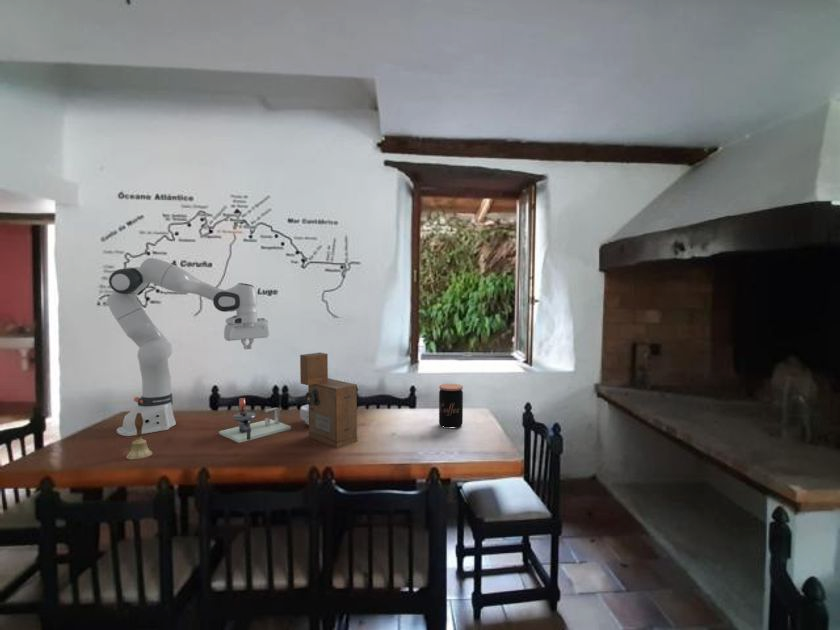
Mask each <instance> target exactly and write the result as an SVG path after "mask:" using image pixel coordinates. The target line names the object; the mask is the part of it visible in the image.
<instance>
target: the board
mask: <svg viewBox="0 0 840 630" xmlns="http://www.w3.org/2000/svg"><path fill="white" fill-rule="evenodd" d="M247 412H248V411H247V410H245V411H243V412H242V415H246V414H247ZM269 419H270V426H265V419H264V420H261V421H257V422H253V423H251V422H250V428H251V432H250V434H251V439H250V440H247V432H239V426H235V427H232V428H227V429H224V430H219V431H218V434H219V435H220V436H222V437H225V438H228V439H230V440H232V441H233V442H236V443H238V444H240V443H244V442H247V441H253V440H255V439H259V438H264V437H266V436H270V435H275V434H278V433H282V432H285V431H286V432H287V431H289V430H292V426H291V425H288V424H286V423H284V422H280V424H276V423H275V419H271V418H269Z"/></svg>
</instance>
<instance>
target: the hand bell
mask: <svg viewBox="0 0 840 630" xmlns="http://www.w3.org/2000/svg"><path fill="white" fill-rule="evenodd" d="M135 426H136V429H137V435H135V436H136V438H135V440H133V441H132V443H131V447H130V451H129V452H128V453H127V454H126V459H127V460H132V461H133V460H134V461H135V460H141V459H142V460H143V459H145V458H149V457H151V456H152V455H153V451H152V450H150V449H149V447H148V445H147V440H146V439H143V438H142V437H143V434H142V426H143V418H142V415H141V413H137V415H136V418H135Z"/></svg>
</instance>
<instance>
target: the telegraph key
mask: <svg viewBox="0 0 840 630" xmlns="http://www.w3.org/2000/svg"><path fill="white" fill-rule="evenodd" d="M238 404H239V405H238V406H239V412H238V413H236V414H233V416H232V420H233V421H235V422H238V427H239V432H247V440H248V441H251V440H250V439H251V434H250V432H251V428H250V424H251V420H254V419H256V418H257V415H256V413H255V412H250V411H249V412H248V411H247V414H246V415H242V412H243V411H246V398H245V397H242V398H241V397H240V398H239V403H238Z"/></svg>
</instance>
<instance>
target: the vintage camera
mask: <svg viewBox="0 0 840 630" xmlns="http://www.w3.org/2000/svg"><path fill="white" fill-rule="evenodd" d="M299 358H300V360H299V362H300V363H299V364H300V365H299V366H300V368H299V369H300V374H299V375H300V384H302V385H305V386H308V391H307V392H306V393H305V398H304V399H305V402H306V405H309V425H308V438H311V439H313V440H315V441H318V442H321V443H323V442H324V443H323V444H327V445H329V446H332V447H335V448H336V447H337V449H338V448H341V447H344V446H347V445H350V444H353V443H356V441H357V442H358V424H357V423H358V422H357V421H358V418H357V417H358V414H357V413H358V407H357V405H358V404H357V401H358V400H357V398H358V395H357V393H358V392H357V389H358V388H357V385H358V384H357V383H351V382H346V381H342V380H338V379H337V380H336V379H332V378H329V377H328V376H329V373H328V371H329V369H328V367H329V366H328V365H329V364H328V363H329V362H328V361H329V360H328V353H325V352H314V353H306V354H305V353H304V354H300V355H299ZM352 442H353V443H352ZM349 443H350V444H349ZM346 444H347V445H346Z"/></svg>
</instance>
